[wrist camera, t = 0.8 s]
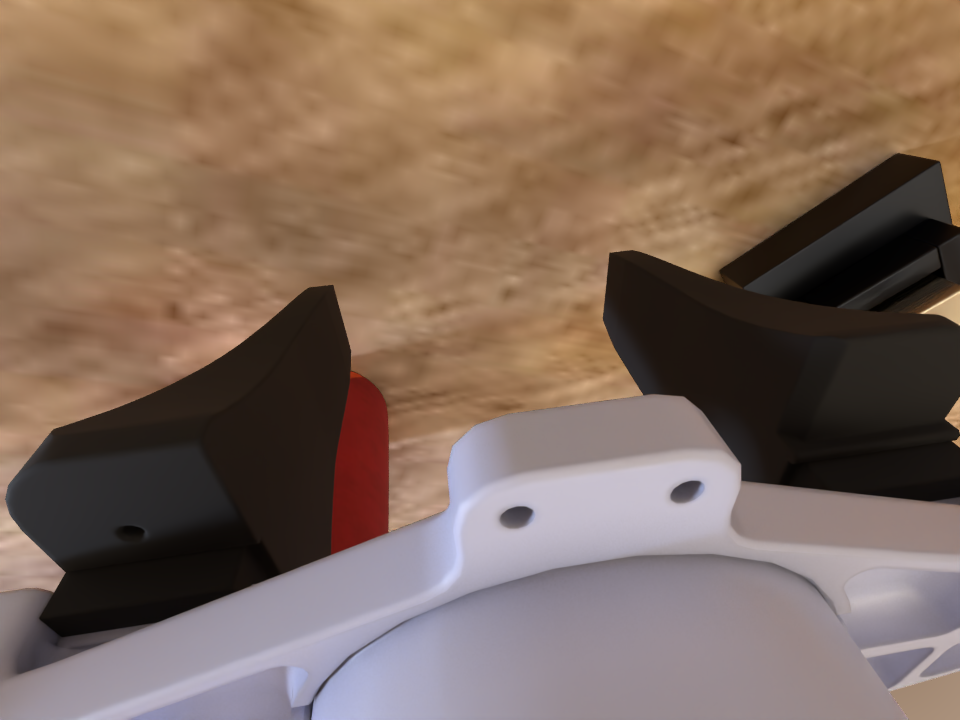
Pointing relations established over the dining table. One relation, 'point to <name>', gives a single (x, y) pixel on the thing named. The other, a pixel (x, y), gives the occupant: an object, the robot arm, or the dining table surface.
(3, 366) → the dining table surface
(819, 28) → the dining table surface
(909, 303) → the switch
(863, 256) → the switch block
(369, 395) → the coffee cup
